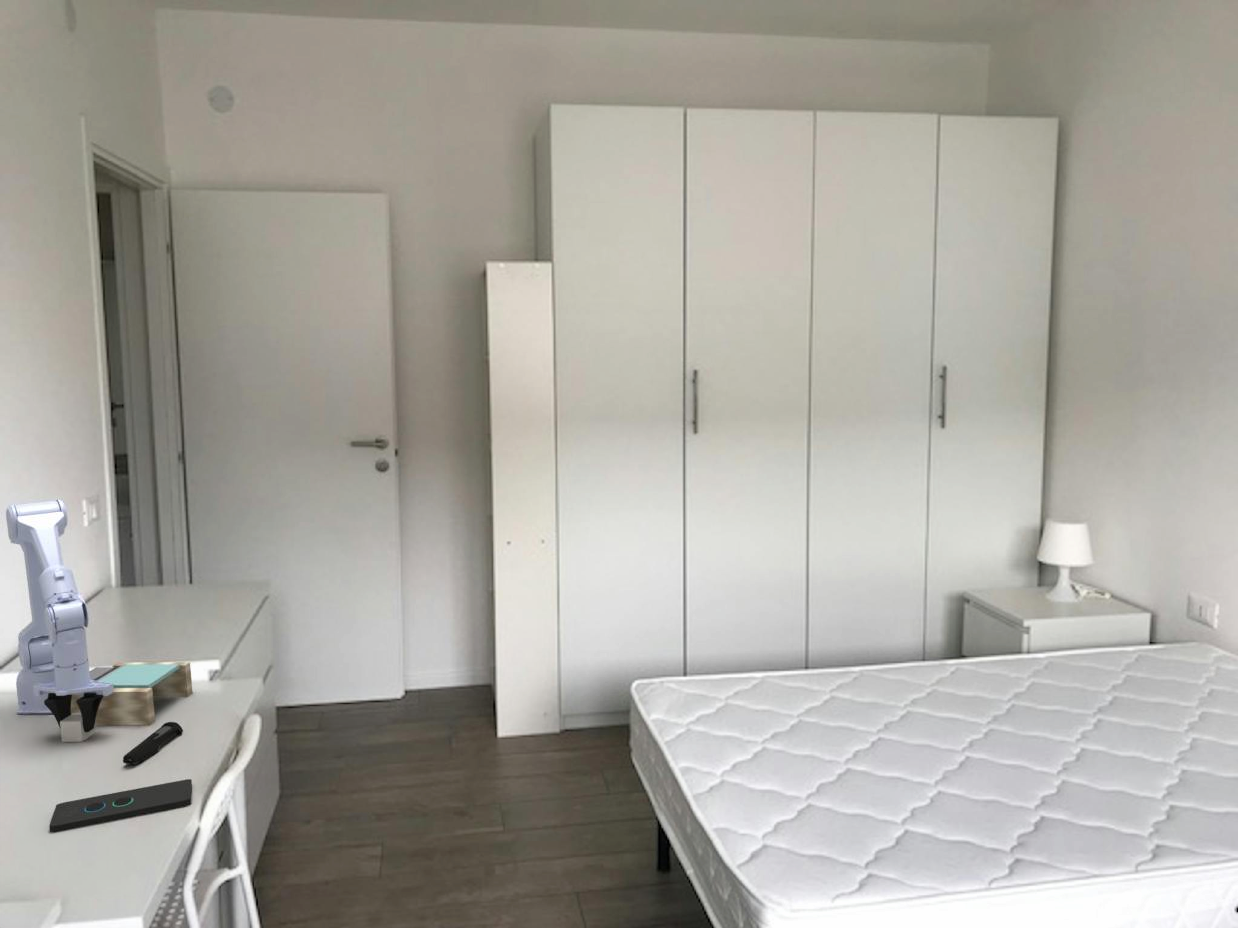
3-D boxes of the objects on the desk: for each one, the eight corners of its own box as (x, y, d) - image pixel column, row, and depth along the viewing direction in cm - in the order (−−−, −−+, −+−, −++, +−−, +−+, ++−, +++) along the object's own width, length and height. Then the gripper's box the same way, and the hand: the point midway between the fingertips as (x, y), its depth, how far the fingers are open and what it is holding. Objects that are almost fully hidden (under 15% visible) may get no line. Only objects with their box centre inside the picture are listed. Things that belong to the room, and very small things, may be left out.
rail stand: (66, 725, 182) (63, 691, 182) (116, 693, 199) (113, 662, 198) (149, 725, 182) (146, 691, 181) (192, 692, 199) (190, 662, 198)
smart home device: (56, 802, 148) (191, 776, 156) (57, 812, 149) (192, 786, 157) (48, 826, 141) (190, 798, 149) (49, 836, 141) (191, 808, 149)
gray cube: (61, 741, 175) (59, 721, 174) (75, 732, 179) (73, 713, 178) (82, 741, 175) (80, 721, 174) (94, 732, 179) (93, 713, 178)
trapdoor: (63, 701, 184) (61, 684, 184) (98, 679, 196) (97, 664, 196) (149, 701, 184) (148, 684, 183) (180, 679, 196) (179, 663, 195)
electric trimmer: (117, 770, 163) (115, 753, 163) (166, 732, 178) (165, 717, 178) (137, 771, 163) (135, 754, 162) (185, 733, 178) (183, 718, 178)
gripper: (20, 669, 171) (27, 738, 173) (95, 669, 171) (101, 738, 172) (45, 657, 178) (51, 723, 180) (117, 656, 178) (123, 723, 179)
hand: (77, 730), depth 177 cm, fingers closed on gray cube, 4 cm apart
